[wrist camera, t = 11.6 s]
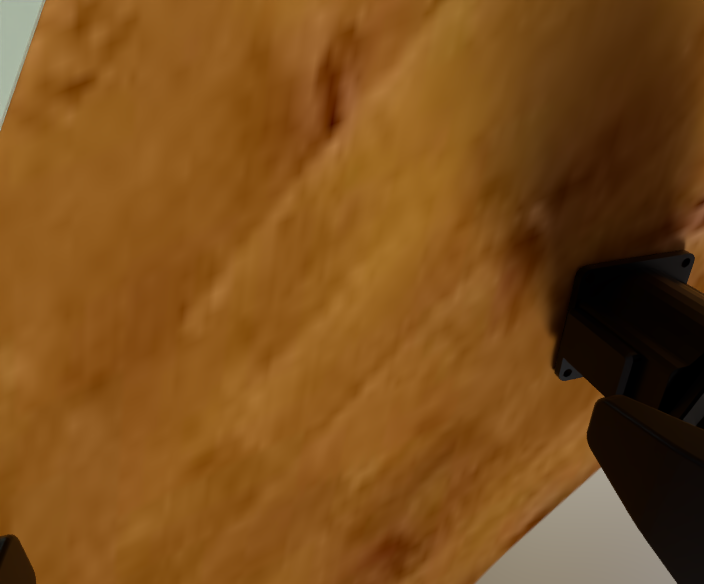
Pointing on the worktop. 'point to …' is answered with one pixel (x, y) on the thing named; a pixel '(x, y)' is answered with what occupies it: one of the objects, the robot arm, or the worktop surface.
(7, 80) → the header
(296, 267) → the worktop surface
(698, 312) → the robot arm
